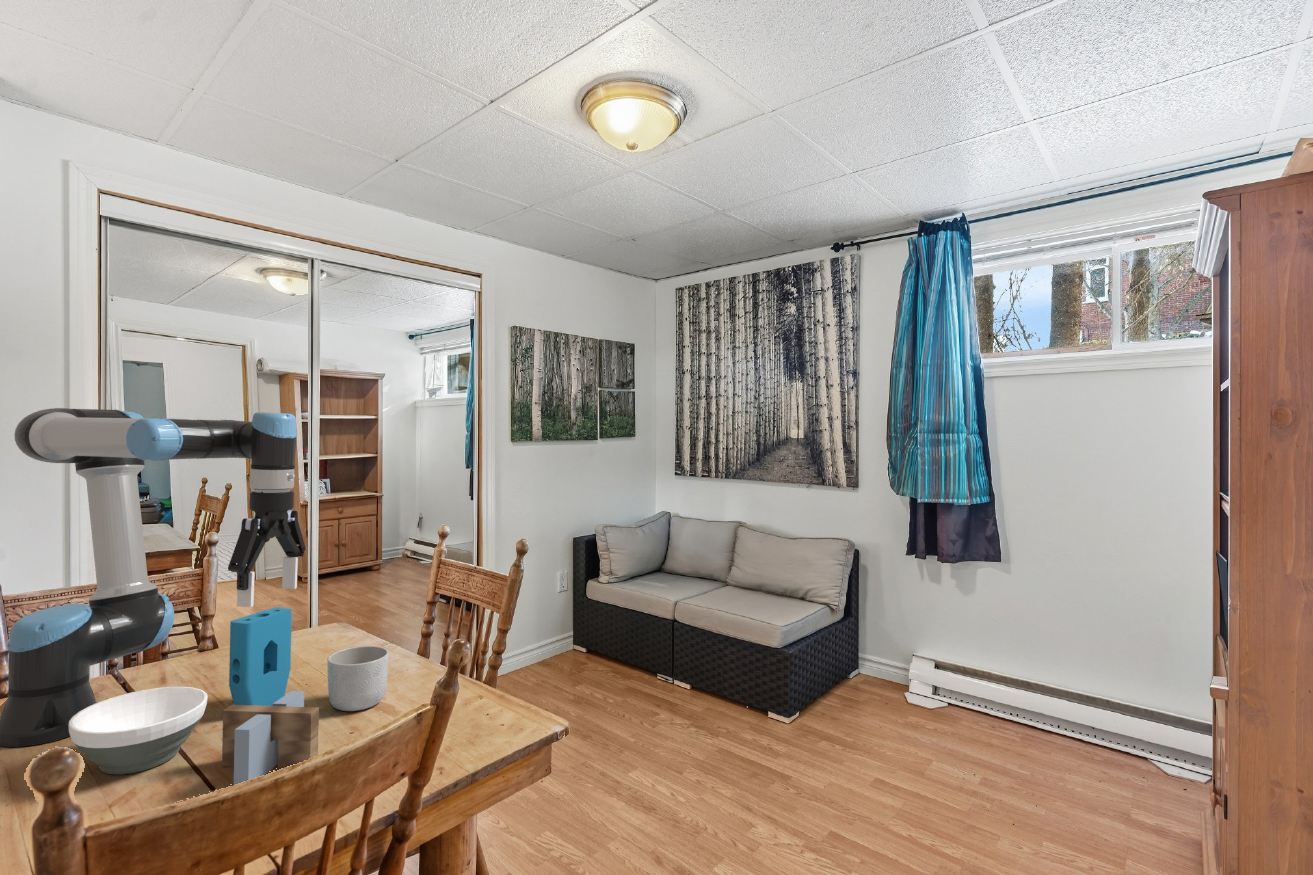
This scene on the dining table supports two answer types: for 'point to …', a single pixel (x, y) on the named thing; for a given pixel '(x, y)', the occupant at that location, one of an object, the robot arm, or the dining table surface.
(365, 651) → the planter
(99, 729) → the bowl
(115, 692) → the dining table surface
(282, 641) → the block
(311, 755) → the wooden blocks
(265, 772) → the slot stand
